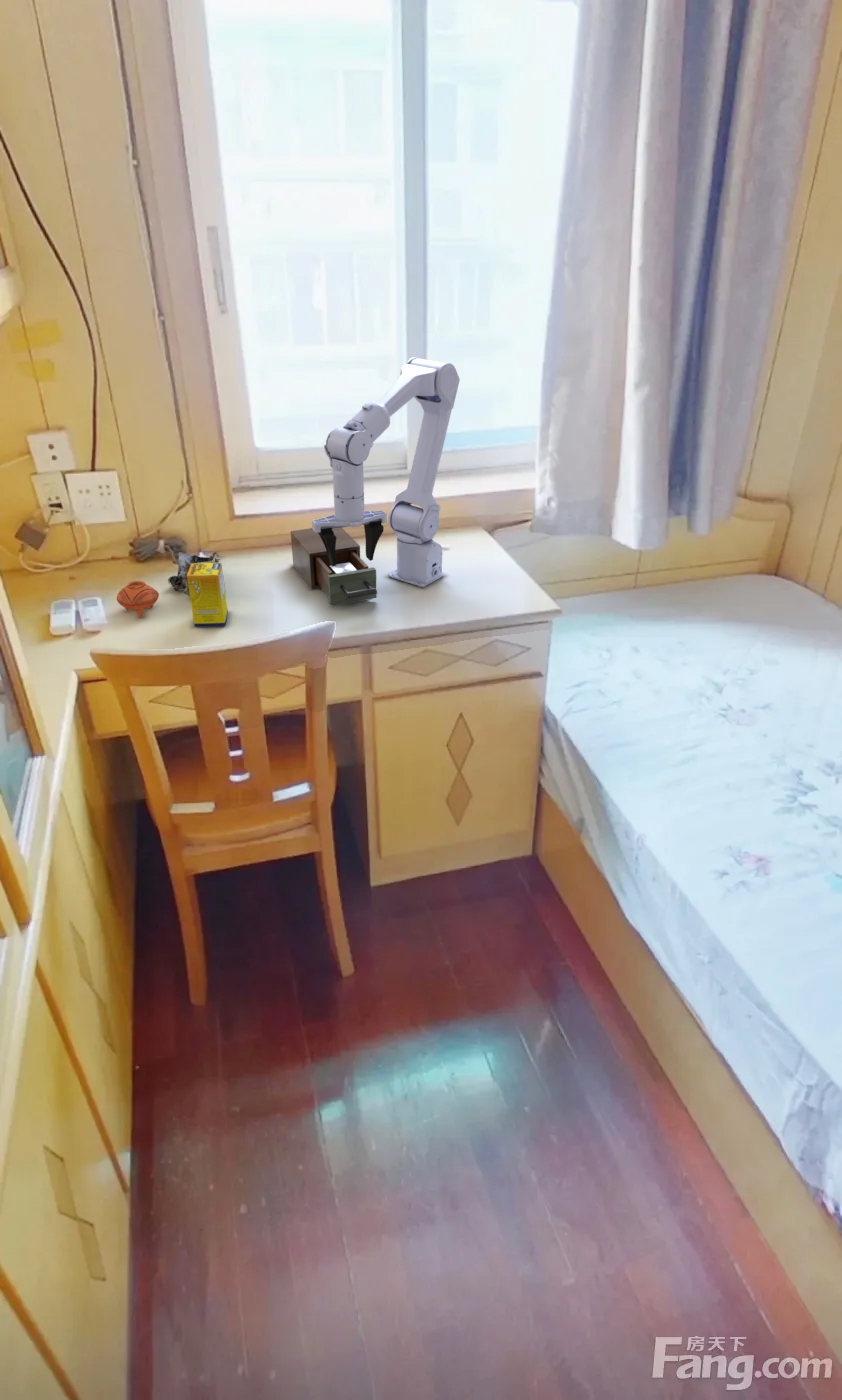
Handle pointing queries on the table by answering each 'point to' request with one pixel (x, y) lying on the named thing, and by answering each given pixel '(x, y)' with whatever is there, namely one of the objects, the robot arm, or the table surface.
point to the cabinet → (316, 550)
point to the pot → (137, 597)
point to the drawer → (345, 579)
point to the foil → (183, 568)
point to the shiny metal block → (342, 568)
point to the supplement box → (207, 594)
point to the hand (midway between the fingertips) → (351, 561)
